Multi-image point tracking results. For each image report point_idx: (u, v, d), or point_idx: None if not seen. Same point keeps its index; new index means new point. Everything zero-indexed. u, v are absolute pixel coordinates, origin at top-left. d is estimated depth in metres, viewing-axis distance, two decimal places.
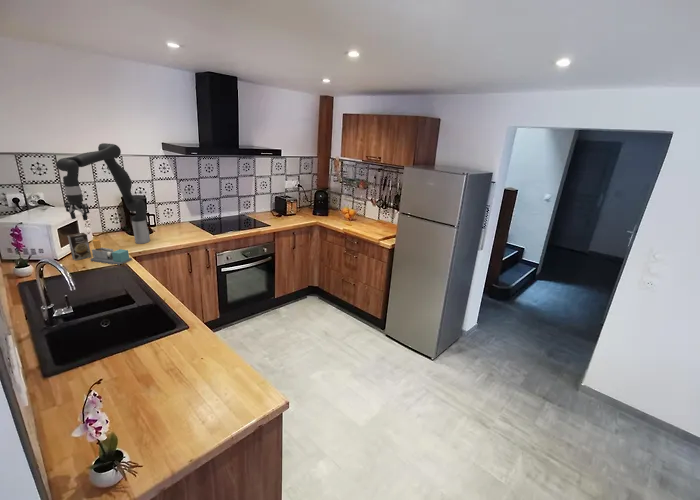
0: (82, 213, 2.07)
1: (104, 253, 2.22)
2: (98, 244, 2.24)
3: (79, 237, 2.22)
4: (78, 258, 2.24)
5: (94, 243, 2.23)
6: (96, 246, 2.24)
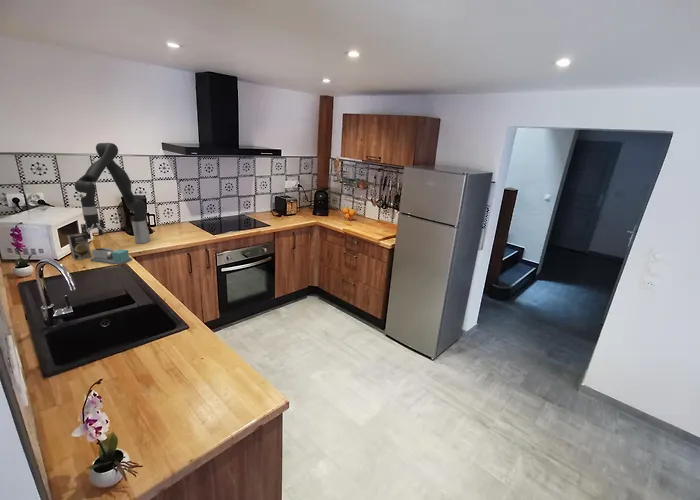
0: (101, 228, 2.25)
1: (104, 253, 2.22)
2: (98, 244, 2.24)
3: (79, 237, 2.22)
4: (78, 258, 2.24)
5: (94, 243, 2.23)
6: (96, 246, 2.24)
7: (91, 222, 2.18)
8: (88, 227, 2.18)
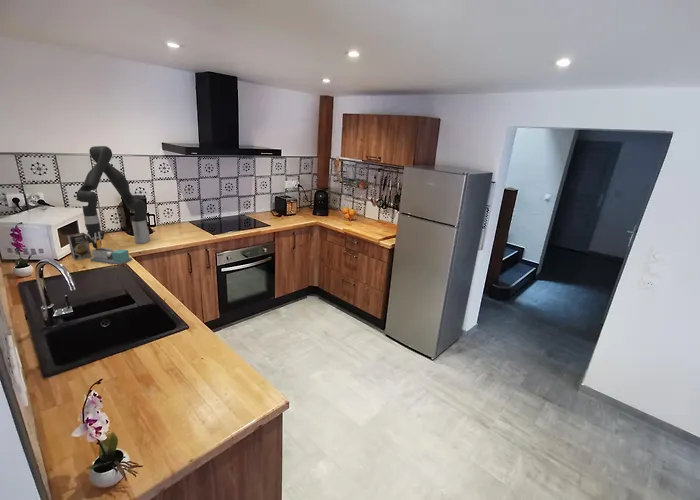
0: (100, 240, 2.25)
1: (104, 253, 2.22)
2: (98, 244, 2.24)
3: (79, 237, 2.22)
4: (78, 258, 2.24)
5: None
6: None
7: (93, 231, 2.20)
8: None
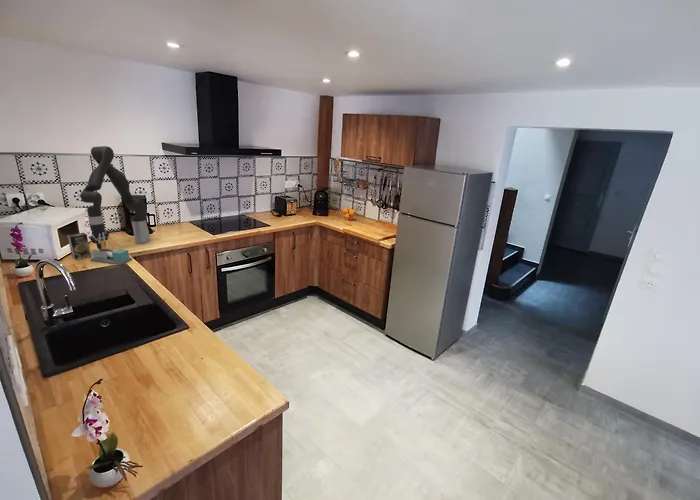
0: (104, 240, 2.25)
1: (104, 253, 2.22)
2: (102, 245, 2.23)
3: (79, 237, 2.22)
4: (78, 258, 2.24)
5: None
6: None
7: (97, 232, 2.19)
8: None
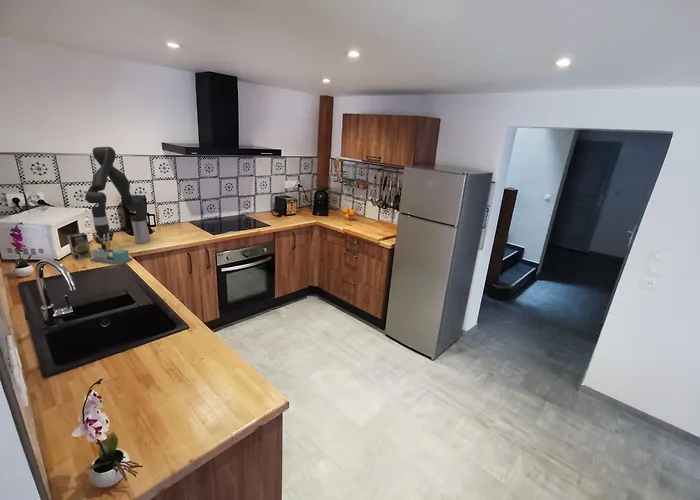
0: (109, 241, 2.24)
1: (104, 253, 2.22)
2: (107, 245, 2.23)
3: (79, 237, 2.22)
4: (78, 258, 2.24)
5: None
6: None
7: (102, 232, 2.19)
8: None
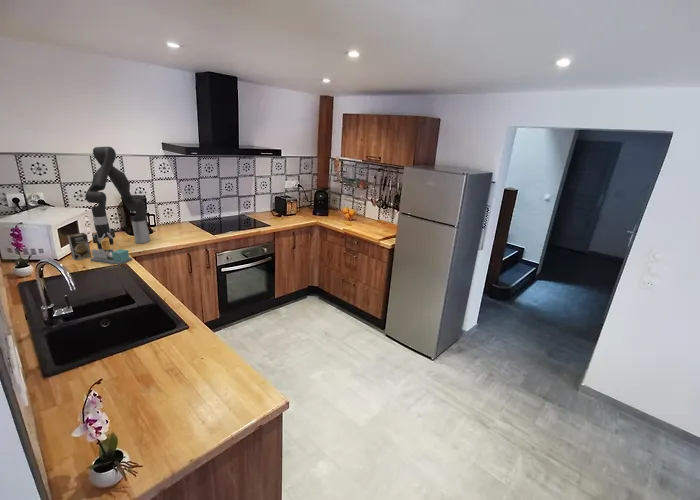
0: (112, 238, 2.26)
1: (104, 253, 2.22)
2: (107, 245, 2.23)
3: (79, 237, 2.22)
4: (78, 258, 2.24)
5: (103, 244, 2.22)
6: (105, 247, 2.23)
7: (102, 232, 2.19)
8: (99, 237, 2.19)
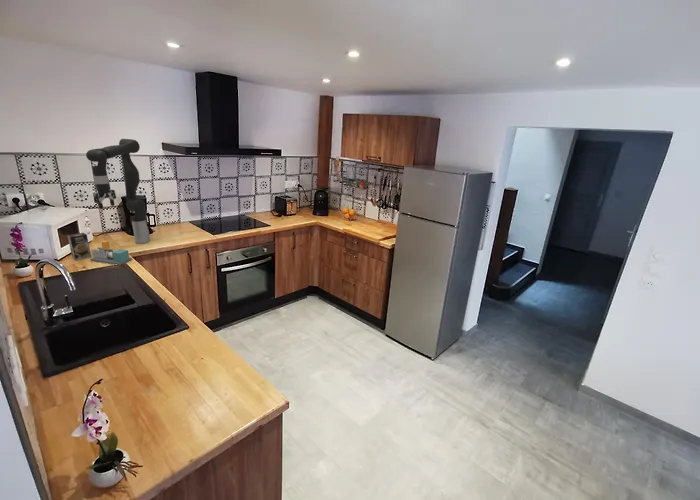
0: (113, 199, 2.26)
1: (104, 253, 2.22)
2: (107, 245, 2.23)
3: (79, 237, 2.22)
4: (78, 258, 2.24)
5: (103, 244, 2.22)
6: (105, 247, 2.23)
7: (103, 192, 2.19)
8: (100, 197, 2.19)
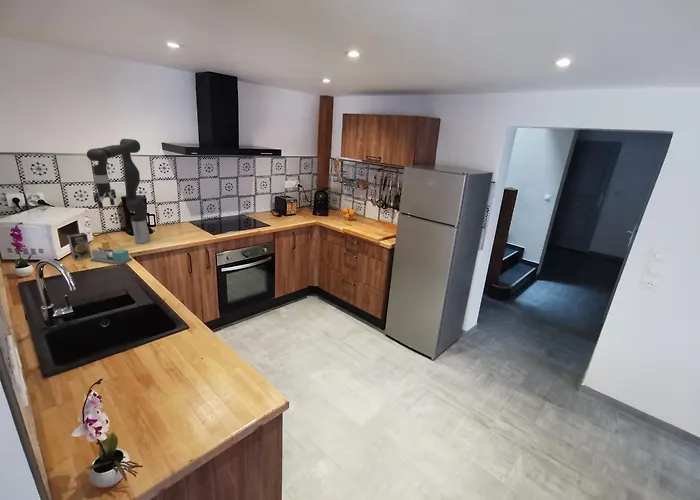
0: (113, 198, 2.27)
1: (104, 253, 2.22)
2: (107, 245, 2.23)
3: (79, 237, 2.22)
4: (78, 258, 2.24)
5: (103, 244, 2.22)
6: (105, 247, 2.23)
7: (103, 191, 2.19)
8: (100, 196, 2.19)
